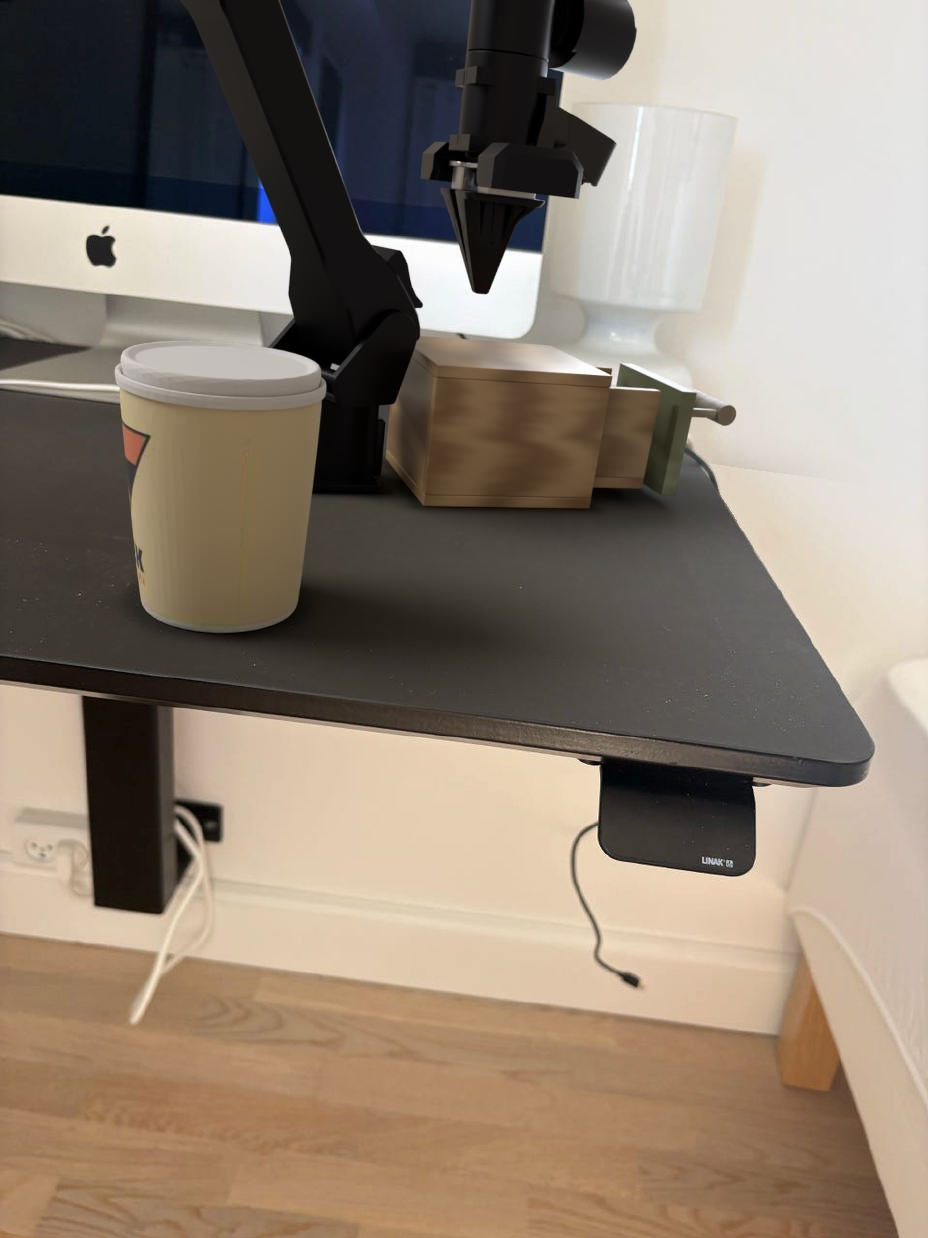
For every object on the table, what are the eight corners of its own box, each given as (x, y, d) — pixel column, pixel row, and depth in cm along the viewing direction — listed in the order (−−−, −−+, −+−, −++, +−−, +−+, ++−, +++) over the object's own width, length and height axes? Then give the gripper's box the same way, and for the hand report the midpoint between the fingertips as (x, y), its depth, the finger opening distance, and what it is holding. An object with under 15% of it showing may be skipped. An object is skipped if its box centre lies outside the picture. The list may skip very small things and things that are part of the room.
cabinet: (533, 463, 80) (550, 345, 76) (589, 508, 70) (613, 375, 66) (385, 458, 76) (395, 333, 72) (423, 506, 66) (437, 364, 62)
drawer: (668, 458, 83) (687, 367, 80) (732, 497, 74) (756, 395, 71) (488, 452, 78) (500, 354, 75) (533, 493, 69) (550, 383, 66)
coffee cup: (157, 556, 53) (153, 331, 48) (327, 576, 53) (341, 354, 48) (92, 628, 44) (79, 363, 39) (295, 651, 45) (307, 390, 40)
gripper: (675, 67, 61) (629, 321, 68) (562, 82, 77) (534, 286, 84) (511, 38, 58) (479, 308, 64) (428, 59, 74) (410, 274, 80)
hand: (480, 293), depth 73 cm, fingers closed
